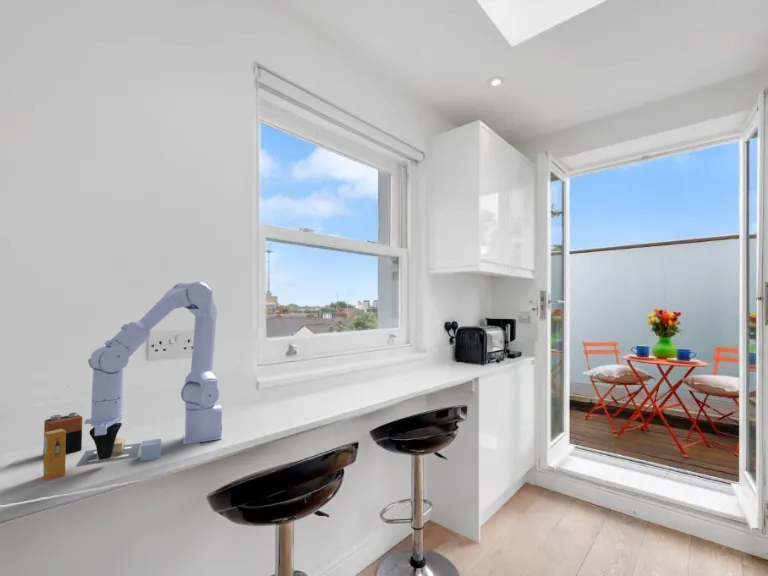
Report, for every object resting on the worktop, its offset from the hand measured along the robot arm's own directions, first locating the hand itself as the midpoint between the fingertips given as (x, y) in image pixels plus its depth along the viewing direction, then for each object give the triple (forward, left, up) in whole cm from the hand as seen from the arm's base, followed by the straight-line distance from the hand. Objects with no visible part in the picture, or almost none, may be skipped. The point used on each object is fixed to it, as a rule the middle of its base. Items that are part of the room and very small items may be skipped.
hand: (105, 458), depth 88 cm
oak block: (0, -8, -2) cm, 8 cm away
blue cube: (-9, -1, -2) cm, 9 cm away
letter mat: (0, -8, -2) cm, 8 cm away
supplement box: (+9, +1, -2) cm, 9 cm away
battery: (+11, -15, -2) cm, 19 cm away
